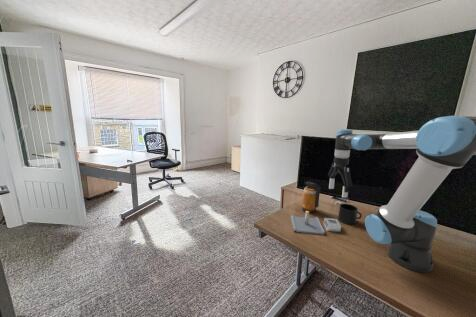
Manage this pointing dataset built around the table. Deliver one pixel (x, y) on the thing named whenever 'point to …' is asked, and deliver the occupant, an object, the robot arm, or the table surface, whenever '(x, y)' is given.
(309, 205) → the canister
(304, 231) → the keeper plate
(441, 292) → the table surface
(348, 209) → the mug
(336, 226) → the square frame
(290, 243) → the table surface
